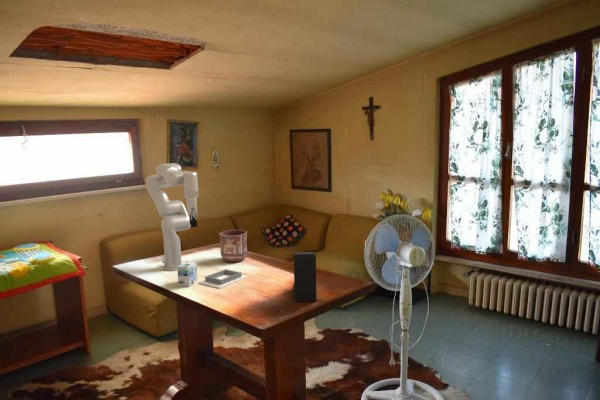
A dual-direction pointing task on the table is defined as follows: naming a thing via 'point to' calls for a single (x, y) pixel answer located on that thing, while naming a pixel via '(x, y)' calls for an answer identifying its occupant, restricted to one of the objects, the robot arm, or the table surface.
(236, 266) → the table surface
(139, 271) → the table surface
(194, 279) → the light bulb box
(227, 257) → the pottery
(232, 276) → the dock board
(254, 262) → the table surface
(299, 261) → the bookend
